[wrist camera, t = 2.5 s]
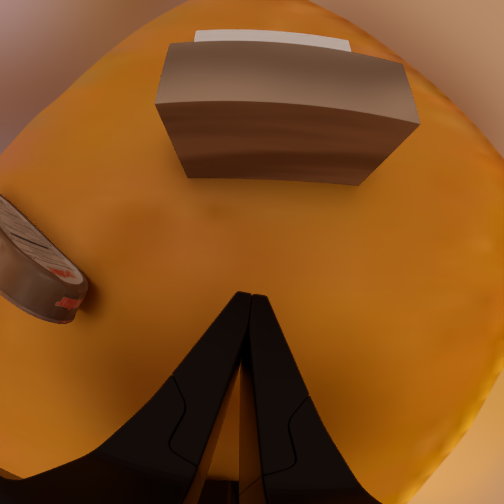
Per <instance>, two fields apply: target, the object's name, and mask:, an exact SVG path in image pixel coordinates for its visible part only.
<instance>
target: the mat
mask: <svg viewBox="0 0 504 504" xmlns="http://www.w3.org/2000/svg"><path fill="white" fill-rule="evenodd" d="M198 41H265V42H280V43H292V44H302V45H310V46H318V47H325V48H331V49H337V50H343V51H349V52H351V49H350V45H349V42H348V40H342V39H337V38H331V37H324V36H317V35H310V34H302V33H292V32H281V31H265V30H200V31H196V34H195V39H194V42H198Z"/></svg>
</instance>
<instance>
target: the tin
mask: <svg viewBox="0 0 504 504" xmlns="http://www.w3.org/2000/svg"><path fill="white" fill-rule="evenodd" d="M87 291H88V281H87V279H86V277H85V276H84V275H83V273H82V272H81V271H80V270H79V269H78V268H77V267H76V266H75V265H74V264H73V263H72V262H71V261H70V260H69V259H68V258H67V257H66V256H65V255H64V254H63V253H62V252H61V251H60V250H59V249H58V248H57V247H56V246H54V245H53V244H52V243H51V242H50V241H49V240H48V239H47V238H46V237H45V236H44V235H43V234H42V233H41V232H40V231H39V230H38V229H37V228H36V227H35V226H34V225H33V224H32V223H31V222H30V221H29V220H28V219H27V218H26V217H25V216H24V215H23V214H22V213H21V212H20V211H19V210H18V209H17V208H16V207H15V206H14V205H13V204H12V203H10V202H9V201H8V200H7V199H6V198H5V197H3V196H2V195H1V194H0V295H1V296H3V297H4V298H5V299H7V300H8V301H9V302H11V303H12V304H13V305H15V306H17V307H18V308H19V309H21V310H23V311H25V312H26V313H28V314H30V315H33V316H35V317H37V318H39V319H42V320H45V321H48V322H53V323H57V324H67V323H70V322H72V321H73V320H74V318H75V313H76V311H77V310H78V308H79V306H80V304H81V303H82V301H83V299H84V297H85V295H86V294H87Z"/></svg>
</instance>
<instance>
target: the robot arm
mask: <svg viewBox="0 0 504 504" xmlns="http://www.w3.org/2000/svg"><path fill="white" fill-rule="evenodd" d="M240 363H241V369H240V432H239V482H233V481H217V480H205V478H206V475H207V472H208V469H209V466H210V463H211V460H212V456H213V453H214V450H215V447H216V444H217V440H218V437H219V434H220V431H221V428H222V424H223V421H224V418H225V415H226V411H227V408H228V405H229V401H230V398H231V395H232V391H233V388H234V385H235V381H236V378H237V375H238V371H239V367H240ZM308 395H309V392H308V390H307V387H306V385H305V383H304V380H303V378H302V376H301V374H300V371H299V369H298V367H297V364H296V362H295V360H294V357H293V355H292V353H291V350H290V348H289V346H288V343H287V341H286V339H285V337H284V334H283V332H282V330H281V327H280V325H279V323H278V320H277V318H276V316H275V313H274V311H273V309H272V306H271V304H270V302H269V299H268V297H267V296H265V295H259V294H253V295H251V293H247V292H241V291H238V292H236V293H235V295H234V296H233V297H232V299H231V300H230V301H229V302H228V304H227V305H226V306H225V307H224V309H223V310H222V311H221V313H220V314H219V315H218V316H217V318H216V319H215V320H214V321H213V323H212V324H211V325H210V327H209V328H208V329H207V330H206V332H205V333H204V334H203V335H202V337H201V338H200V339H199V340H198V342H197V343H196V344H195V345H194V347H193V348H192V349H191V350H190V352H189V353H188V354H187V355H186V357H185V358H184V359H183V360H182V362H181V363H180V364H179V365H178V367H177V368H176V369H175V370H174V372H173V373H172V375H171V376H170V377H169V378H168V379H167V380H166V381H165V383H164V384H163V385H162V386H161V388H160V389H159V390H158V391H157V392H156V393H155V394H154V396H153V397H152V398H151V399H150V400H149V401H148V402H147V403H146V404H145V405H144V406H143V407H142V408H141V409H140V410H139V411H138V412H137V413H136V414H135V415H134V416H133V417H132V418H130V419H129V420H128V421H127V422H126V423H125V424H124V425H123V426H122V427H121V428H120V429H118V430H117V431H116V432H115V433H114V434H113V435H112V436H111V437H110V438H108V439H107V440H106V441H105V442H104V443H103V444H101V445H100V446H99V447H98V448H96V449H95V450H93V451H92V452H90V453H89V454H87V455H85V456H83V457H81V458H78V459H76V460H73V461H71V462H69V463H66V464H64V465H61V466H59V467H56V468H53V469H51V470H48V471H45V472H43V473H40V474H37V475H34V476H31V477H28V478H25V479H23V478H20V477H18V476H16V475H14V474H12V473H10V472H8V471H6V470H4V469H2V468H0V504H382V503H380V502H379V501H378V500H376V499H375V498H374V497H372V496H371V495H370V494H369V493H368V492H367V491H366V490H365V489H364V488H363V487H362V486H361V484H360V483H359V482H358V481H357V479H356V478H355V476H354V474H353V473H352V471H351V470H350V468H349V466H348V465H347V463H346V462H345V460H344V458H343V457H342V455H341V454H340V452H339V450H338V449H337V447H336V445H335V444H334V442H333V440H332V439H331V437H330V435H329V433H328V432H327V430H326V428H325V426H324V425H323V422H322V420H321V418H320V416H319V414H318V412H317V410H316V408H315V406H314V403H313V401H312V399H311V397H310V396H308Z"/></svg>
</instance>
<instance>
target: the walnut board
mask: <svg viewBox="0 0 504 504" xmlns="http://www.w3.org/2000/svg"><path fill="white" fill-rule="evenodd" d="M155 106H156V108H157V110H158V113H159V115H160V117H161V119H162V122H163V124H164V126H165V128H166V131H167V133H168V135H169V137H170V140H171V142H172V144H173V146H174V149H175V151H176V153H177V155H178V157H179V160H180V162H181V164H182V166H183V168H184V171H185V173H186V175H187V177H188V178H234V179H267V180H289V181H306V182H321V183H334V184H346V185H358V186H359V185H360V184H361V183H362V182H363V181H364V180H365V179H366V178H367V177H368V176H369V175H370V174H371V173H372V172H373V171H374V170H375V169H376V168H377V167H378V166H379V165H380V164H381V163H382V162H383V161H384V160H385V159H386V158H387V157H388V156H389V155H390V154H391V153H392V152H393V151H394V150H395V149H396V148H397V147H398V146H399V145H400V144H401V143H402V142H403V141H404V140H405V139H406V138H407V137H408V136H409V135H410V134H411V133H412V132H413V131H414V130H415V129H416V128H417V127H418V126H419V125H420V120H419V116H418V113H417V109H416V105H415V102H414V98H413V95H412V92H411V88H410V85H409V82H408V79H407V76H406V73H405V70H404V67H403V64H400V63H397V62H393V61H389V60H385V59H381V58H377V57H373V56H368V55H364V54H359V53H354V52H349V51H343V50H337V49H331V48H325V47H318V46H310V45H302V44H292V43H280V42H265V41H198V42H183V43H171V44H170V45H169V49H168V52H167V56H166V59H165V63H164V67H163V71H162V75H161V79H160V83H159V87H158V91H157V96H156V100H155Z"/></svg>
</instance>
